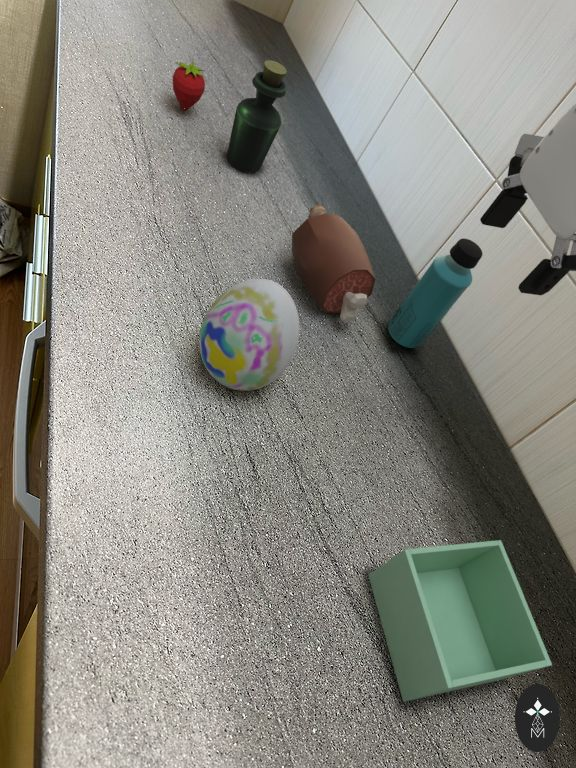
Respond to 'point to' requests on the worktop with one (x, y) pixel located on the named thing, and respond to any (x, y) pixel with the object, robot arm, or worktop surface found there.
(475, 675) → the bin
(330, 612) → the worktop surface
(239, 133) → the potion bottle
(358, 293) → the meat
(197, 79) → the strawberry
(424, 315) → the beverage bottle
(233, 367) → the decorative egg
